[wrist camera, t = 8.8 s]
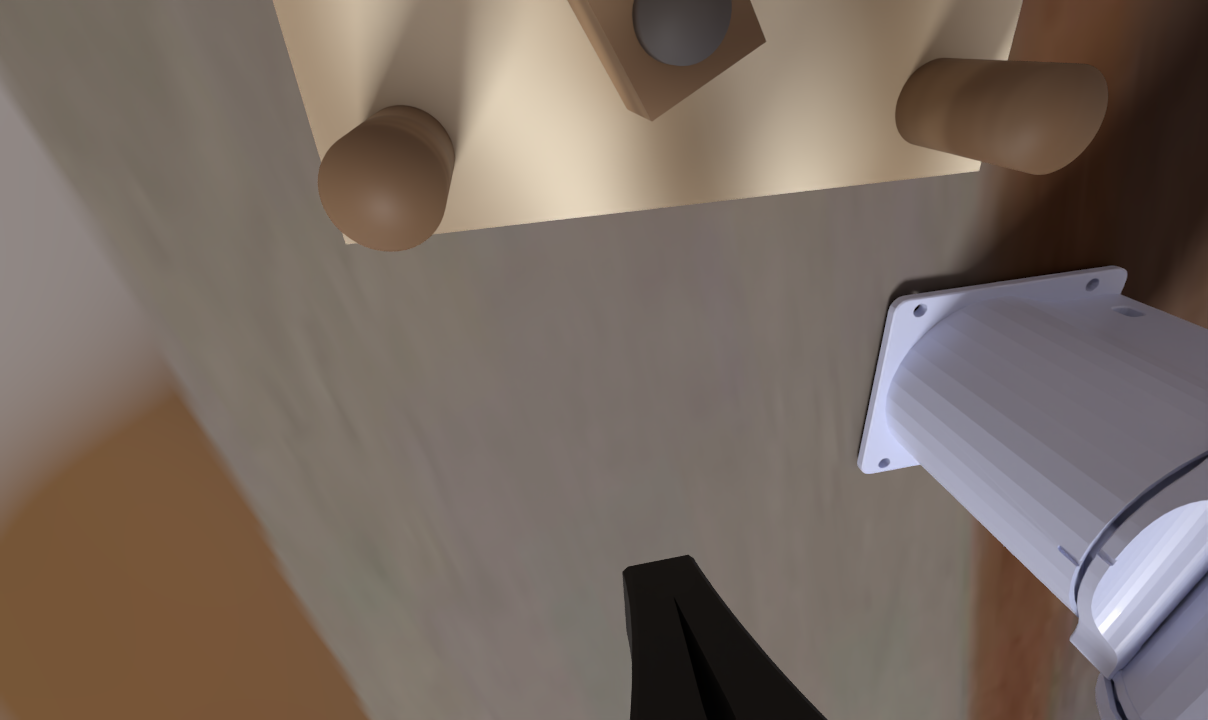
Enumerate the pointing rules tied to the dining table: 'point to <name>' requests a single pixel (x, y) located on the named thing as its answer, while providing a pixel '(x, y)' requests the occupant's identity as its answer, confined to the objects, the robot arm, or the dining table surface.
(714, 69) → the folding leg
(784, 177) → the stool seat
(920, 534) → the dining table surface
